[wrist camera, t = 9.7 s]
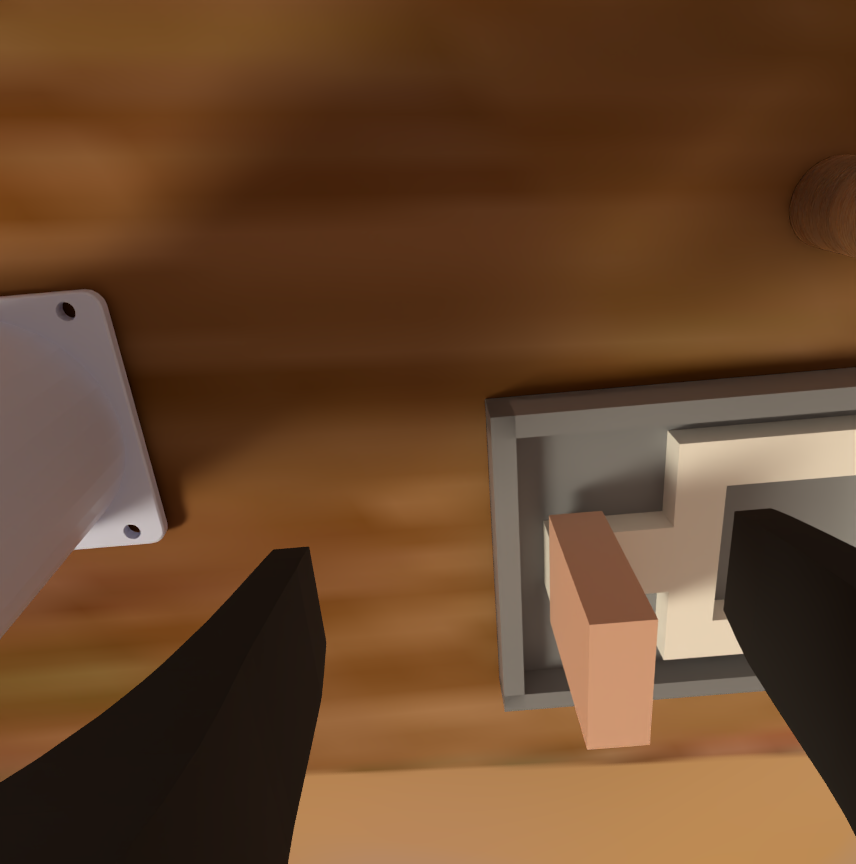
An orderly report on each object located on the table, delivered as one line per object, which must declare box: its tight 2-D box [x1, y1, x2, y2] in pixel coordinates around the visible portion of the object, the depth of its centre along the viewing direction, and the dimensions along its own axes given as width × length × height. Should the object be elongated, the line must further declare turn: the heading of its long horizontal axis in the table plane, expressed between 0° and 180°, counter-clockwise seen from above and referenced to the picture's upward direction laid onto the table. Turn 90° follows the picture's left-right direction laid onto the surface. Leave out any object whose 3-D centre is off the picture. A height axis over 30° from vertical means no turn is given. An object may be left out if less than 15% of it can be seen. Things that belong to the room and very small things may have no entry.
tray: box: [485, 367, 856, 712], centre depth 22 cm, size 16×11×2 cm
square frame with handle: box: [543, 415, 856, 750], centre depth 19 cm, size 12×8×6 cm
